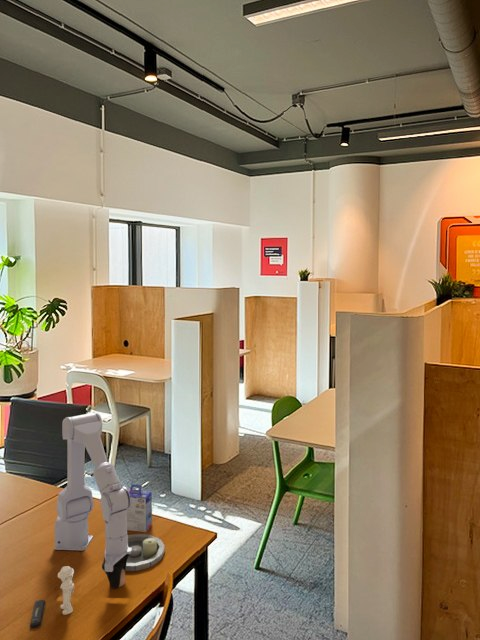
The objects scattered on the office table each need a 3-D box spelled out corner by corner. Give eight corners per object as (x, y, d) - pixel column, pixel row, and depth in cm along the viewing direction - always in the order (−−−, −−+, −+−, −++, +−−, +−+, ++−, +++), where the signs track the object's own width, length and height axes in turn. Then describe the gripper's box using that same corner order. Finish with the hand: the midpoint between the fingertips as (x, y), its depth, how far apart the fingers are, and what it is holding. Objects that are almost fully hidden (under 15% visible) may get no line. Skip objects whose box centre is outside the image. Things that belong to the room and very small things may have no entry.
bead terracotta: (108, 590, 141) (107, 576, 140) (112, 581, 145) (112, 567, 144) (122, 591, 140) (122, 577, 140) (127, 582, 144) (126, 568, 144)
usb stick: (35, 605, 135) (34, 599, 135) (45, 603, 136) (45, 598, 136) (29, 630, 126) (29, 624, 126) (41, 628, 127) (40, 622, 127)
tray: (97, 573, 148) (97, 564, 148) (115, 540, 165) (115, 533, 165) (157, 575, 147) (156, 567, 147) (169, 542, 164) (169, 535, 164)
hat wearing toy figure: (78, 617, 130) (76, 571, 129) (61, 622, 128) (59, 576, 127) (72, 596, 138) (70, 553, 137) (56, 600, 136) (54, 557, 135)
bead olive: (141, 558, 154) (141, 545, 154) (144, 550, 158) (144, 537, 158) (155, 558, 154) (154, 545, 153) (158, 551, 158) (157, 538, 157)
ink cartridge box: (153, 526, 174) (152, 484, 172) (147, 535, 169) (146, 491, 167) (125, 523, 176) (124, 482, 174) (118, 532, 171) (116, 489, 169)
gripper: (123, 549, 133) (124, 599, 135) (138, 520, 148) (139, 566, 149) (95, 548, 134) (97, 597, 135) (113, 519, 148) (114, 565, 150)
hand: (117, 581), depth 142 cm, fingers open, 4 cm apart
